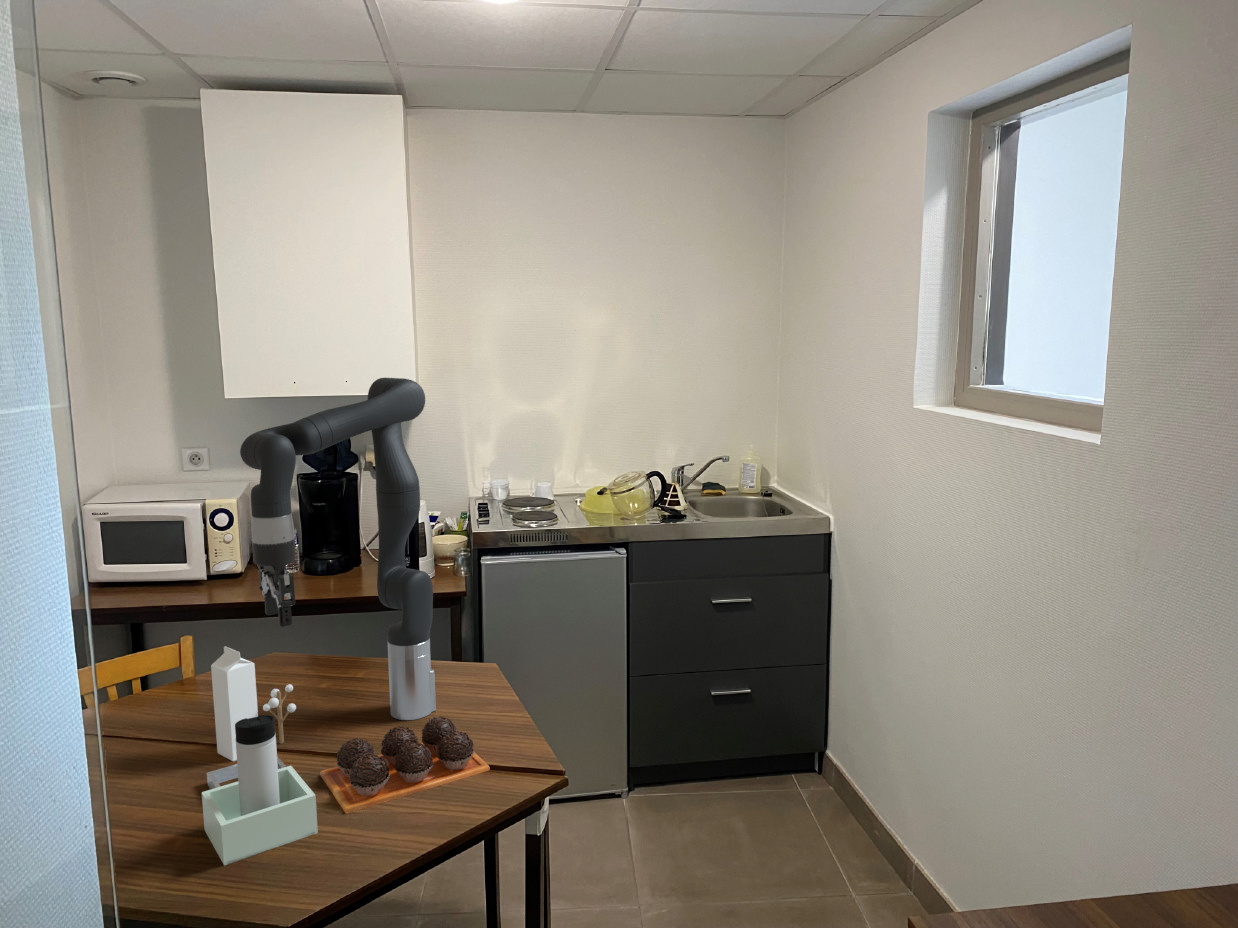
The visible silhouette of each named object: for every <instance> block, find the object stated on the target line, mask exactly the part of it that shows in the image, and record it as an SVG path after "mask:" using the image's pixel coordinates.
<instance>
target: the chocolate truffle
mask: <svg viewBox="0 0 1238 928" xmlns="http://www.w3.org/2000/svg"><path fill="white" fill-rule="evenodd" d="M421 735H422V736H421V743H420V742H419V741H418V740H419V738H418V736H417V735H416V733H415V732H414V730H413V729H410V727H408V726H407V727H404V726H397V727H396V726H394V727H393V728H390V729H389V731H388V732H387V733H386V734H384V735H383V740H381V744H380V746H381V749H380V753H381V754H378V755H377V754H375V753H374V752H375V750H374V747H373V746H372V745H371V744H370V742H368V741H367V740H365V739H364V738H358V737H355V738H351V739H349V740H347V741H345V743H342V744H341V747H340V749H339V750H338V751H337V753H336V754H337V756H335V758H336V761H337V762H336V766H334V767H331V768H328V769H327V768H326V769H323V770H320V771H319V772H320V773H319V774H320V777H321V779H322V780H323V782H324V783H325V785H326V787H328V790H329V791H330V792H331V794H332V795H333V797H334V798H335V800H336V801H337V803H338V804H339V806H340V808H341V809H342V810H343V812H344V813H345V814H346V815H347V814H350V813H353V812H357V811H359V810H364V809H366V808H367V809H368V808H370V807H373V806H377V805H379V804H383V803H387V802H390V801H393V800H396V799H400V798H403V797H406V796H409V795H414V794H416V793H420V792H423V791H426V790H429V789H432V788H436V787H439V786H442V785H445V784H449V783H453V782H456V781H459V780H463V779H466V778H469V777H472V776H475V775H478V774H482V773H485V772H489V771H490V769H491V768H490V766H489V765H488V763H487V762H485V761H484V760H483V759H482V758H481V757H480V756H479V755H478V754H477V753H476V752H475V750H474V745H475V744H474V742H473V740H472V739H471V737H470V736H469V735H468V733H467V732H463V731H459V730H457V726H456V725H455V723H454V722H453V721H452V720H451V719H450V718H447V717H445V716H438V717H432V718H431V719H428V721H426V723H425V724H424V727H423V728H422V729H421Z"/></svg>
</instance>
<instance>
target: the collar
mask: <svg viewBox="0 0 1238 928" xmlns="http://www.w3.org/2000/svg"><path fill="white" fill-rule="evenodd" d="M277 764H278V769H281V768H284V767H287V766H286V764H285V763H284V761H282V759H281V758H280V757H279V756H278V755H277ZM234 779H238V768H237V763H236V764H232V765H229V766H226V767H222V768H219V769H218V768H217V769H215V770H212V771H208V772H206V781H207V786H208V788H209V790H211V789H214V788H218V787H221V783H224V782H229V781H231V780H234Z"/></svg>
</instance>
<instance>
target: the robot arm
mask: <svg viewBox="0 0 1238 928" xmlns="http://www.w3.org/2000/svg"><path fill="white" fill-rule="evenodd" d="M425 406H426V394H425V391H424V389H423V387H422V386H421V385H420V384H419V383H418V382H416V381H415V380H412V379H409V378H401V377H399V378H398V377H380V378H377V379H376V380H375V381H373V382H372V384H371V385H370V387H369V388H368V392H367V399H366V400H362V401H360V402H356V403H351V404H347V405H342V406H336V407H332V408H328V409H325V410H322V411H318V412H317V413H314V414H311V415H308V416H305V417H302V418H300V419H298V420H296V421H294V422H293V421H292V422H290V423H286V424H281V425H277V426H273V427H269V428H264V429H261V430H257V431H255V432H253V433H252V434H250V435H248V436H247V437H246V438H245V439H244V441H242V444H241V446H240V449H239V450H240V451H239V454H240V457H241V460H242V462H243V463H244V464H245V465H246V466H248V467H249V468H251V469H255V470H258V471H259V470H260V478H259V483H258V484H256V485H254V486H253V487H252V488H251V490H250V506H251V507H250V509H251V525H250V527H251V528H250V530H251V545H252V559H253V560H252V561H253V563H254V564H255V565H257V566H258V582H259V585H258V586H259V587H258V588H259V591H260V592H261V593H262V596H263V597H264V598H263V599H264V612H265V614H266V615H267V616H272V615H278V625H279V626H280V627H281V628H283V627H288V626H291V625H292V624H293V622H292V621H293V619H292V618H293V617H292V606H295V605H296V593H295V584H294V583H295V581H294V574H293V573H292V572H291V573H290V572H289V571H288V570H287V565H288V564H290V563H292V562H294V561H295V560H296V558H297V557H296V555H297V554H296V543H295V527H294V521H293V515H292V514H293V513H292V499H291V498H292V497H291V490H292V485H293V481H294V477H295V476H294V475H295V471H296V465H297V464H296V463H297V462H296V461H297V456H308V455H313V454H315V453H318V452H320V451H322V450H324V449H327V448H330V447H331V446H334V445H336V444H338V443H342V442H343V441H346V440H348V439H351V438H354V437H356V436H358V435H361V434H364V433H366V432H370V431H371V436H372V443H373V444H372V445H373V455H374V468H375V470H374V471H375V495H376V498H375V499H376V509H377V525H378V530H377V531H378V558H377V559H378V561H377V573H376V574H377V575H376V576H377V579H376V581H377V582H376V583H377V584H376V589H377V597H378V599H379V602H380V604H382V605H383V606H384V607H387V608H390V609H395V610H399V611H402V616H401V621H399V622H396V623H393V624H391V625H390V626H389V627H388V628H387V631H386V632H387V633H386V637H387V638H386V641H387V659H388V664H387V665H388V683H389V684H388V685H389V709H390V710H389V711H390V716H391V717H392V718H394V719H397V720H400V721H414V720H420V719H423V718H425V717H427V716H429V715H430V714H431V713H432V712H435V711H437V706H436V705H437V703H436V702H437V701H436V698H437V697H436V681H435V680H436V679H435V677H436V676H435V675H436V674H435V673H436V672H435V669H433V668H432V665H431V662H432V661H431V635H430V634H431V633H430V632H431V628H432V625H433V620H434V619H433V614H434V613H433V610H434V607H433V606H434V605H433V604H434V590H433V589H434V588H433V586H434V585H433V582H432V578H431V576H430V575H429V573H427V572H426V571H424V570H420V569H414V568H408V567H406V555H405V554H406V543H407V539H408V538H409V535H410V533H411V531H412V529H413V527H414V525H415V523H416V522H417V521H418V520H417V519H418V518H419V514H420V511H421V492H420V489H421V488H420V487H421V486H420V480H419V476H418V474H417V471H416V470H417V469H415V466H414V464H413V462H412V460H411V458H410V455H409V453H408V452H407V449H406V447H405V444H404V440H403V432H402V423H405V422H409V421H413V420H415V419H416V418H417V417H419V416H420V415H421V413H422V412H423V411H424V408H425ZM285 597H286V599H285Z"/></svg>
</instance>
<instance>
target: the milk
mask: <svg viewBox="0 0 1238 928" xmlns="http://www.w3.org/2000/svg"><path fill="white" fill-rule="evenodd" d="M210 670H211V671H210V672H211V681H212V684H211V685H212V696H213V697H212V698H213V710H214V723H215V737H216V738H215V739H216V750H217V754H218V755H221V756H222V757H224V758H226V759H227V760H230V761H231V762H235V761H236V762H237V753H236V733H235V724H236V723H237V722H238V721H240V720H242V719H245V718H247V719H249V718H254V717H259V711H258V709H259V708H258V699H257V698H258V696H257V684H256V683H257V682H256V679H257V678H256V667H255V662H252V661H251V660H248V659H245V658H243V657H241V653H240V651H237V650H235V649H234V648H231V647H228V646H223V653H222V655H220V656H219V657H218V658H217V659H216V660H215V661H214V662H213V663H212V664H211V665H210Z"/></svg>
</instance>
